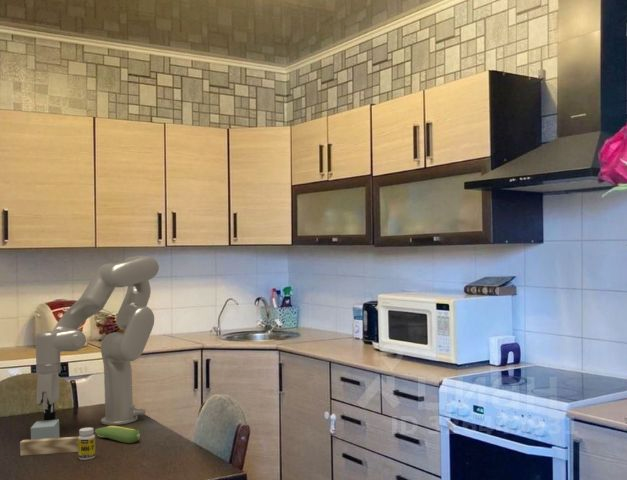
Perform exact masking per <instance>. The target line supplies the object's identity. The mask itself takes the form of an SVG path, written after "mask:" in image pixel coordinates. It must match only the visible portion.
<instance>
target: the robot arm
mask: <svg viewBox="0 0 627 480" xmlns="http://www.w3.org/2000/svg"><path fill="white" fill-rule="evenodd" d="M123 260H124V261H123V262H120V263H103V264H102V265H100V266H99V268H98V269H97V271H95V274H94V275H93V277H92V278H91V279H90V281H89V283H88V285H87V287H86V288H85V290H84V292H83V293H82V295H80V297H79V298H78V300H76V301H75V302H74V303H73V304H72V305H71V306H70V307H69V308H68V309H67V310H66V311H65V312H64V313H63V315H62V316H61V317H60V319H59V320H58V321H57V323H56V325H55V327H54V328H53V330H45V331H39V332H37V333H36V335H35V363H36V364H35V368H36V370H35V371H36V375H37V382H36V405H38V406H41V405H42V410H43V421H45V420H56V403H57V402H56V401H58V400H59V399H60V380H59V379H60V377H59V374H60V373H61V370H62V369H61V367H62V365H61V352H78V351H79V350H81V349H82V348H83V347H84V346H85V344H86V342H87V341H86V340H87V338H86V335H85V334H84V332H83V331H82V330H79V328H80V327H81V325H82V324H83V323H84V322H85V321H86V320H88V319H89V318H91V317H92V316H95V315H97V314H99V313H100V312H101V311H102V310H104V307H105V305H106V304H107V302H108V300H109V299H110V297H111V296H112V295H113V292H114V291H115V289H116V288H125V287H127V289H126V293H125V296H124V298H123V300H122V303H121V305H120V306H119V310H118V312H117V314H116V317H115V323H116V325H117V327H118V328H119V329H121V330H123V331H124V332H119V331H117V332H111V333H108V334H107V335H106V336H104V338H103V339H102V340H101V344H100V352H101V353H100V354H101V358H102V362H103V364H102V365H103V374H104V375H103V376H104V378H103V379H104V380H103V382H104V407H105V410H104V413H105V414H104V415H105V416H104V417H102V418H101V420H100V423H101V424H103V425H106V426H119V425H126V424H131V423H134V422H136V421H137V420H138V419H139V418H138V416H145V415H146V409H145V408H144V409H143V408H136V405H134V404H133V402H134V401H133V374H132V373H133V371H132V365H131V362H133V361H134V362H135V361H136V360H137V359H139V358H140V356H141V355H142V354H143V353H144V350H145V348H146V345H147V343H148V341H149V338H150V335H151V334H152V330H153V329H154V324H155V314H154V312H153V310H152V309H151V308H150V307H148V303H149V300H150V299H151V298H150V297H151V291H152V290H151V289H152V288H151V285H150V280H153V279H154V278H155V276H157V275H158V272H159V270H160V269H159V267H160V266H159V263H158V261H157V259H156V258H154V257H152V256H149V255H142V256H141V255H139V256H138V255H137V256H129V257H127V258H125V259H123Z"/></svg>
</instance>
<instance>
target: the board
mask: <svg viewBox="0 0 627 480" xmlns="http://www.w3.org/2000/svg"><path fill="white" fill-rule="evenodd" d="M78 437H79V436H69V437H68V436H65V437H64V436H63V437H60V438H47V439H31V438H30V439H23V440H21V441H20V442H19V449H20V450H19V452H20V456H21V457H22V456H35V455H51V454H52V455H54V454H65V453H78Z"/></svg>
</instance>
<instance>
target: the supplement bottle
mask: <svg viewBox="0 0 627 480" xmlns="http://www.w3.org/2000/svg"><path fill="white" fill-rule="evenodd" d="M78 432H79V436H77V437H78V452H77V454H78V459H79V460H83V461H86V460H92V459H94V458H95V457H96V435H95V434H94V432H95V430H94V427H81V428H80V429H79V431H78Z"/></svg>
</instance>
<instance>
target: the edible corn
mask: <svg viewBox="0 0 627 480" xmlns="http://www.w3.org/2000/svg"><path fill="white" fill-rule="evenodd" d="M94 432H95V433H96V434H97V436H98V437H100V438H102V439H103V438H104V439H110V440H113V441H117V442H120V443H121V442H122V443H125V444H133V443H135V442H138V441H140V439H141V433H140V432H139V430H138V429H137V428H135V427H131V426H123V425H122V426H119V425H106V426H105V427H103V426H102V427H99V428H96V429H95V430H94Z"/></svg>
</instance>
